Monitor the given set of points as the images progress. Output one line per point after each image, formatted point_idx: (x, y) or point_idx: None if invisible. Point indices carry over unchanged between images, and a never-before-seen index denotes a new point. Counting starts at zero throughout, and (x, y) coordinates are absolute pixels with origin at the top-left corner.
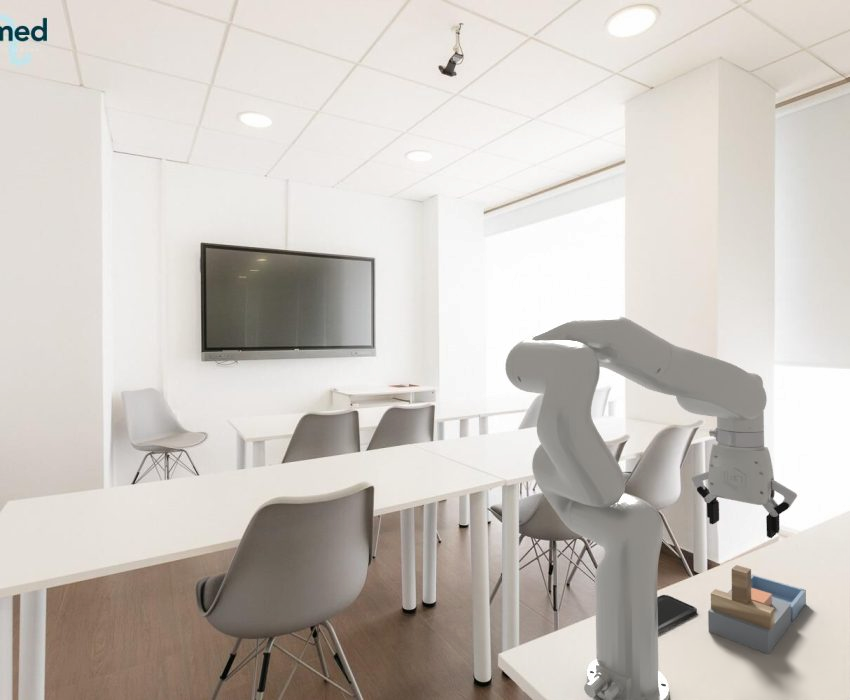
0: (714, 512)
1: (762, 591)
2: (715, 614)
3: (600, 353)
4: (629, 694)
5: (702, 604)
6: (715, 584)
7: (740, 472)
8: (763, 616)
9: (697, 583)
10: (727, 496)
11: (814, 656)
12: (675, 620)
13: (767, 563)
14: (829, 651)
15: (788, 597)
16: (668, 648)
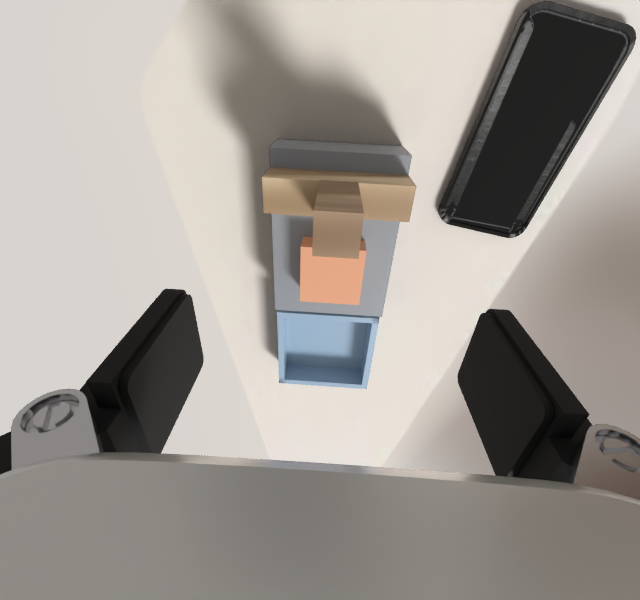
0: (505, 375)
1: (318, 300)
2: (393, 154)
3: None
4: None
5: (433, 257)
6: (422, 347)
7: None
8: (280, 173)
9: (454, 332)
10: (460, 502)
11: (216, 198)
12: (481, 125)
13: (361, 448)
14: (206, 235)
15: (306, 365)
16: None
